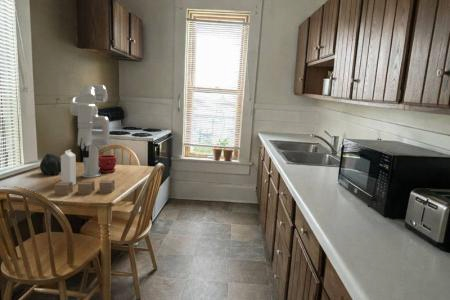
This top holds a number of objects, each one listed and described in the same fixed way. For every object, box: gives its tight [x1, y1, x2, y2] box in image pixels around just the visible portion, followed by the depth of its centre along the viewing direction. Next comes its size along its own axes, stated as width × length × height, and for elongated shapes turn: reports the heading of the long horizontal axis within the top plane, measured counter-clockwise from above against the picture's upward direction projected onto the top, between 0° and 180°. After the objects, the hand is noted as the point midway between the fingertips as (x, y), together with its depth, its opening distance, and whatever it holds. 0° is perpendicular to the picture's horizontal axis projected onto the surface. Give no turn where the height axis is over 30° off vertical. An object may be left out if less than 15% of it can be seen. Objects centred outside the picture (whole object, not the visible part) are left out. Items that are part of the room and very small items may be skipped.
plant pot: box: [99, 154, 117, 174], centre depth 227 cm, size 13×13×12 cm
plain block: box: [77, 180, 96, 195], centre depth 178 cm, size 7×7×6 cm
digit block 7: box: [98, 179, 116, 193], centre depth 183 cm, size 7×7×6 cm
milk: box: [60, 149, 77, 186], centre depth 188 cm, size 6×6×22 cm
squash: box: [39, 153, 61, 176], centre depth 212 cm, size 14×15×15 cm
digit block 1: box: [54, 181, 74, 196], centre depth 173 cm, size 7×7×6 cm
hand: (85, 157), depth 175 cm, fingers closed
